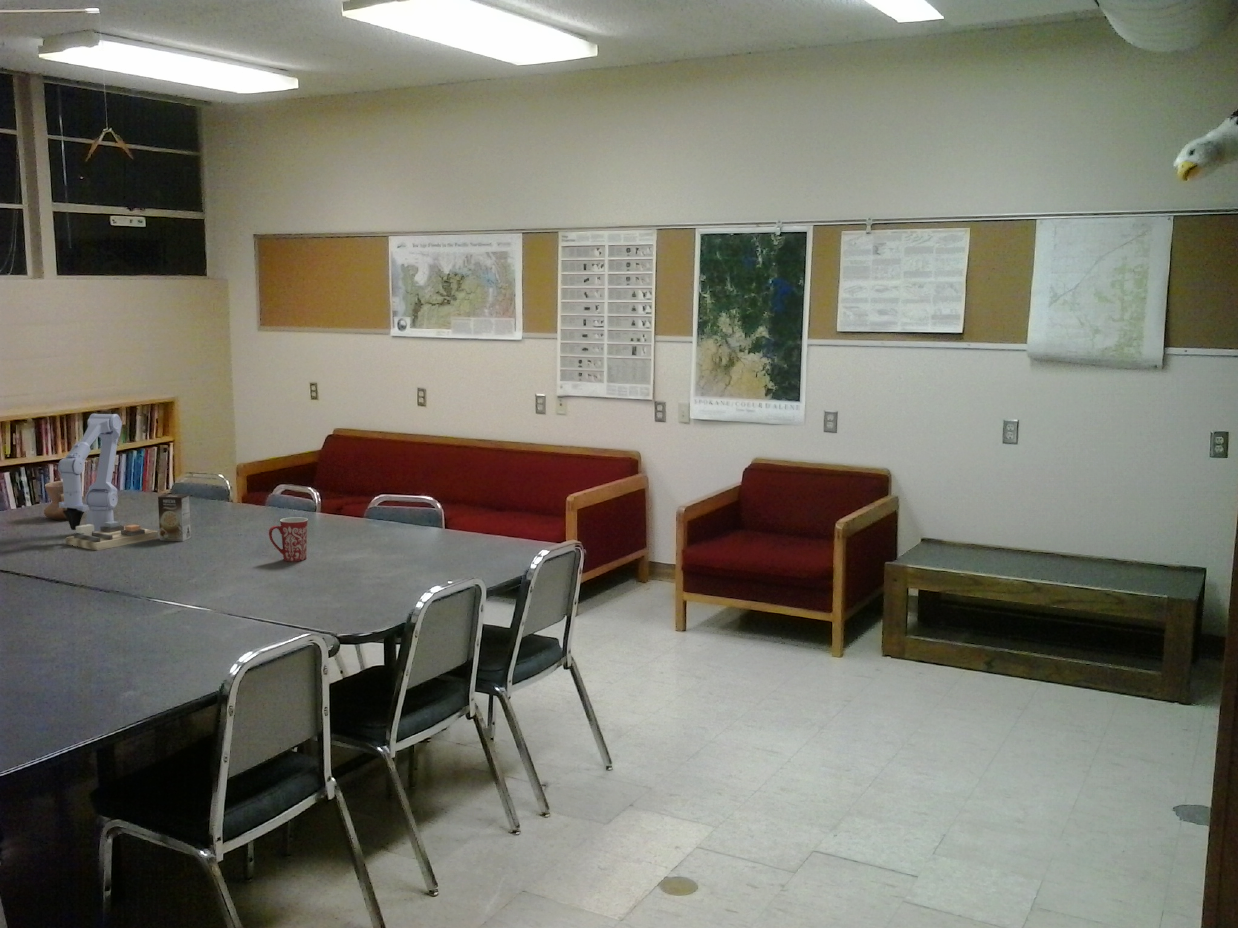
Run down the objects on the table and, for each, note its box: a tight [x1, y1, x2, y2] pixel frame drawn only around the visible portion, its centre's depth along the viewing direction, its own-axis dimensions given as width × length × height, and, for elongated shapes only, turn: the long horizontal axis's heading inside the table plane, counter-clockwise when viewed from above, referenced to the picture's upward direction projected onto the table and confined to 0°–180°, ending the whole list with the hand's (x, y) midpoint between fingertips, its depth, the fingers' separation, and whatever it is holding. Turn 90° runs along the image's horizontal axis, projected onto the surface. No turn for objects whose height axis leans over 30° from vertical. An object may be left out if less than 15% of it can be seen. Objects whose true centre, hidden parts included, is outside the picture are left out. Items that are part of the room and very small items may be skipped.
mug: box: [268, 516, 309, 562], centre depth 360 cm, size 13×9×14 cm
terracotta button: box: [124, 524, 141, 531], centre depth 387 cm, size 4×4×2 cm
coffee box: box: [157, 493, 192, 542], centre depth 390 cm, size 9×6×16 cm
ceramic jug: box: [43, 480, 68, 521], centre depth 426 cm, size 18×14×14 cm
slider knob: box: [75, 523, 94, 536], centre depth 382 cm, size 3×5×4 cm, turn 149°
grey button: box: [104, 520, 121, 528], centre depth 393 cm, size 4×4×2 cm
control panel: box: [65, 524, 159, 551], centre depth 387 cm, size 18×24×4 cm
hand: (75, 529), depth 385 cm, fingers closed
